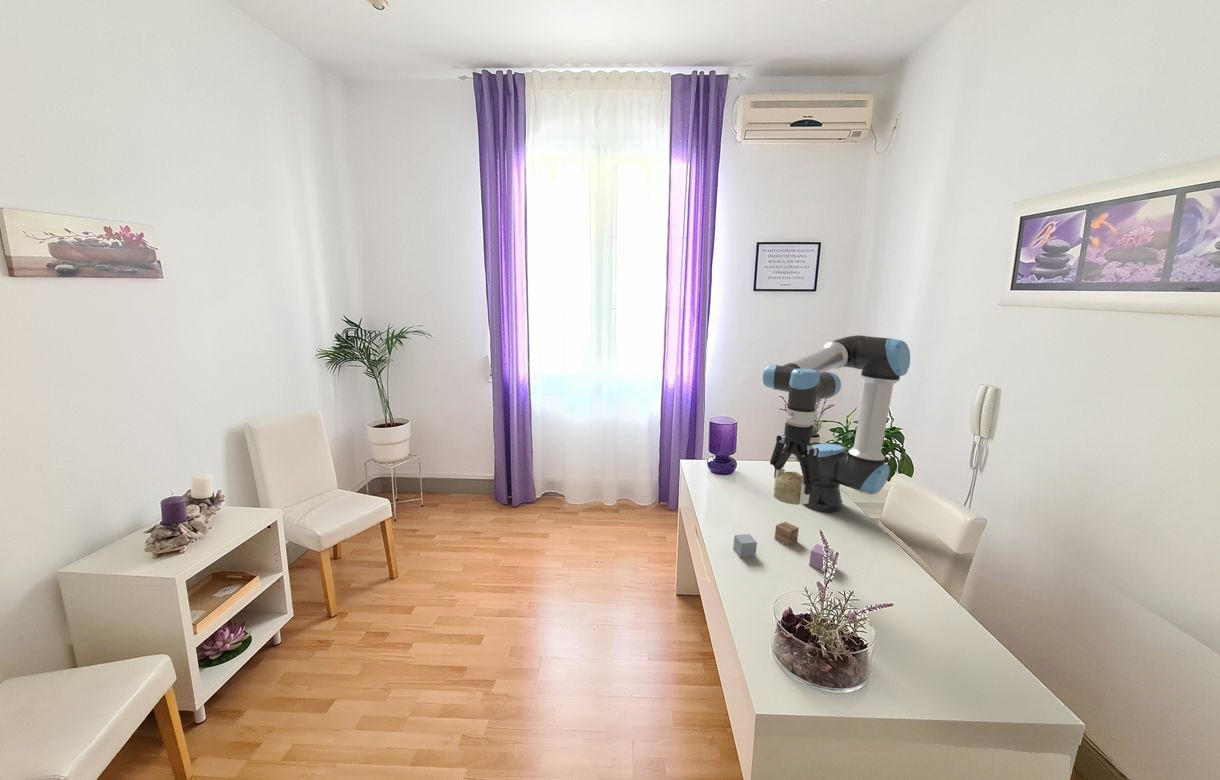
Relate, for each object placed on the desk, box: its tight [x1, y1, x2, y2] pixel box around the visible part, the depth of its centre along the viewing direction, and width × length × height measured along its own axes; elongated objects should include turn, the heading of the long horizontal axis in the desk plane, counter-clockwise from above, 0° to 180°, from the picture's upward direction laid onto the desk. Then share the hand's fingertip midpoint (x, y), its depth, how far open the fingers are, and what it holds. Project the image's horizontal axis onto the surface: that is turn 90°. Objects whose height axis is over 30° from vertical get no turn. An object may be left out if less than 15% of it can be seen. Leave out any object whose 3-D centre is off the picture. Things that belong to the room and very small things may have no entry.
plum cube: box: [808, 543, 835, 571], centre depth 147 cm, size 5×5×5 cm
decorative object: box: [772, 471, 804, 506], centre depth 145 cm, size 9×10×10 cm
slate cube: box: [732, 533, 758, 559], centre depth 152 cm, size 5×5×5 cm
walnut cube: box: [774, 521, 800, 546], centre depth 160 cm, size 5×5×5 cm
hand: (790, 496), depth 145 cm, fingers closed on decorative object, 9 cm apart
